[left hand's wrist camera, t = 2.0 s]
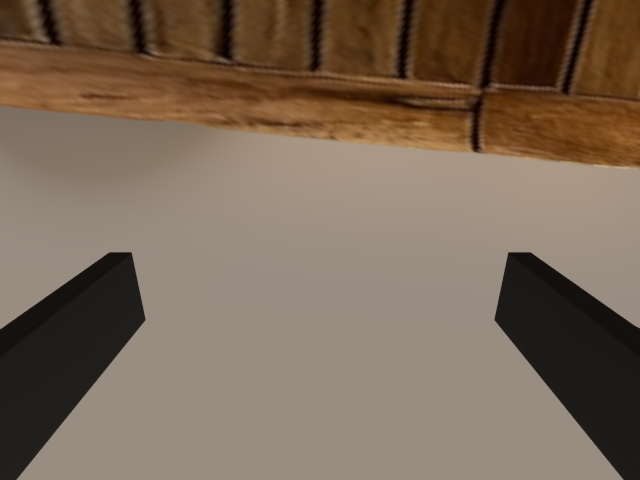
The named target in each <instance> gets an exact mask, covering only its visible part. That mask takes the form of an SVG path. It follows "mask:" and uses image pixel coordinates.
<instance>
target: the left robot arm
mask: <svg viewBox="0 0 640 480" xmlns="http://www.w3.org/2000/svg"><path fill="white" fill-rule="evenodd" d="M144 321H145V315H144V310H143V305H142V300H141V296H140V291H139V286H138V281H137V276H136V272H135V267H134V262H133V257H132V253H131V252H110V253H108V254H107V255H105V256H104V257H102V258H101V259H100V260H98V261H97V262H95V263H94V264H92V265H91V266H90V267H88V268H87V269H85V270H84V271H83V272H81V273H80V274H78V275H77V276H75V277H74V278H73V279H71V280H70V281H68V282H67V283H66V284H64V285H63V286H61V287H60V288H58V289H57V290H56V291H54V292H53V293H51V294H50V295H48V296H47V297H46V298H44V299H43V300H41V301H40V302H39V303H37V304H36V305H34V306H33V307H31V308H30V309H29V310H27V311H26V312H24V313H23V314H22V315H20V316H19V317H17V318H16V319H15V320H13V321H12V322H10V323H9V324H7V325H6V326H5V327H3V328H2V329H0V480H16V479H17V478H18V477H19V476H20V475H21V473H22V472H23V471H24V470H25V468H26V467H27V466H28V465H29V463H30V462H31V461H32V460H33V458H34V457H35V456H36V455H37V453H38V452H39V451H40V450H41V449H42V447H43V446H44V445H45V444H46V442H47V441H48V440H49V439H50V437H51V436H52V435H53V434H54V433H55V431H56V430H57V429H58V428H59V426H60V425H61V424H62V423H63V421H64V420H65V419H66V418H67V416H68V415H69V414H70V413H71V412H72V410H73V409H74V408H75V407H76V405H77V404H78V403H79V402H80V400H81V399H82V398H83V397H84V395H85V394H86V393H87V392H88V390H89V389H90V388H91V387H92V386H93V384H94V383H95V382H96V381H97V379H98V378H99V377H100V376H101V374H102V373H103V372H104V371H105V369H106V368H107V367H108V366H109V364H110V363H111V362H112V361H113V360H114V358H115V357H116V356H117V355H118V353H119V352H120V351H121V350H122V348H123V347H124V346H125V345H126V343H127V342H128V341H129V340H130V339H131V337H132V336H133V335H134V334H135V332H136V331H137V330H138V329H139V327H140V326H141V325H142V324H143V322H144ZM495 321H496V322H497V324H498V325H499V326H500V327H501V329H502V330H503V331H504V332H505V334H506V335H507V336H508V337H509V339H510V340H511V341H512V342H513V343H514V345H515V346H516V347H517V348H518V350H519V351H520V352H521V353H522V355H523V356H524V357H525V358H526V360H527V361H528V362H529V363H530V364H531V366H532V367H533V368H534V369H535V371H536V372H537V373H538V374H539V376H540V377H541V378H542V379H543V381H544V382H545V383H546V384H547V386H548V387H549V388H550V389H551V390H552V392H553V393H554V394H555V395H556V397H557V398H558V399H559V400H560V402H561V403H562V404H563V405H564V407H565V408H566V409H567V410H568V412H569V413H570V414H571V415H572V416H573V418H574V419H575V420H576V421H577V423H578V424H579V425H580V426H581V428H582V429H583V430H584V431H585V433H586V434H587V435H588V436H589V437H590V439H591V440H592V441H593V442H594V444H595V445H596V446H597V447H598V449H599V450H600V451H601V452H602V454H603V455H604V456H605V457H606V458H607V460H608V461H609V462H610V463H611V465H612V466H613V467H614V468H615V470H616V471H617V472H618V473H619V475H620V476H621V477H622V478H623V479H624V480H640V328H638V327H636V326H634V325H633V324H631V323H630V322H628V321H627V320H626V319H624V318H623V317H621V316H620V315H618V314H617V313H616V312H614V311H613V310H611V309H610V308H609V307H607V306H606V305H604V304H603V303H601V302H600V301H599V300H597V299H596V298H594V297H593V296H592V295H590V294H589V293H587V292H586V291H584V290H583V289H582V288H580V287H579V286H577V285H576V284H575V283H573V282H572V281H570V280H569V279H567V278H566V277H565V276H563V275H562V274H560V273H559V272H557V271H556V270H555V269H553V268H552V267H550V266H549V265H547V264H546V263H545V262H543V261H542V260H540V259H539V258H538V257H536V256H535V255H533V254H532V253H530V252H509V253H508V257H507V262H506V267H505V272H504V276H503V281H502V286H501V291H500V296H499V301H498V305H497V310H496V315H495Z"/></svg>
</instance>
